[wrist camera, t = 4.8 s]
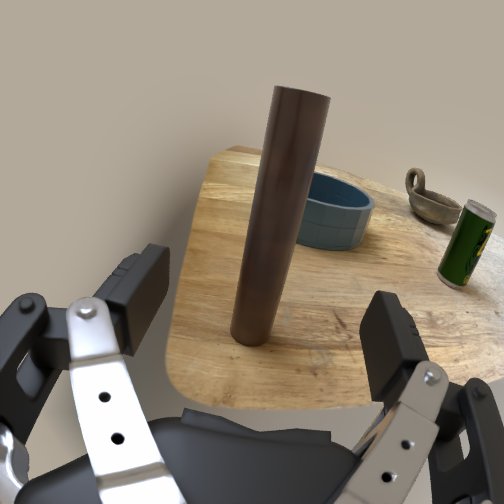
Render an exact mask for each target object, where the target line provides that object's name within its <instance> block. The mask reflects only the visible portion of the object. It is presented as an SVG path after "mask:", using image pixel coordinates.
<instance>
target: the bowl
mask: <svg viewBox="0 0 504 504" xmlns="http://www.w3.org/2000/svg"><path fill="white" fill-rule="evenodd" d="M416 174H417V184H416V185H415V186H414V185H413V182H414V178H415V175H416ZM405 184H406V189H407V192H408V194H409V202H410V204H411V206H412V208H413V210H414V211H415V212H416V214H418V215H419V216H420V217H422V218H423V219H425V220H426V221H428V222H432V223H435V224H455V223H457V221H458V219H459V214H460V212H461V210H462V207H461V206H460V205H459V204H458V203H457V202H456V201H454V200H452V199H450V198H448V197H446V196H444V195H442V194H438V193H435V192H433V191H428V190H426V189H425V175H424V172H423V171H422V170H421V169H419V168H412V169H410V170H409V171H408V173H407V176H406V183H405Z"/></svg>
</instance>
